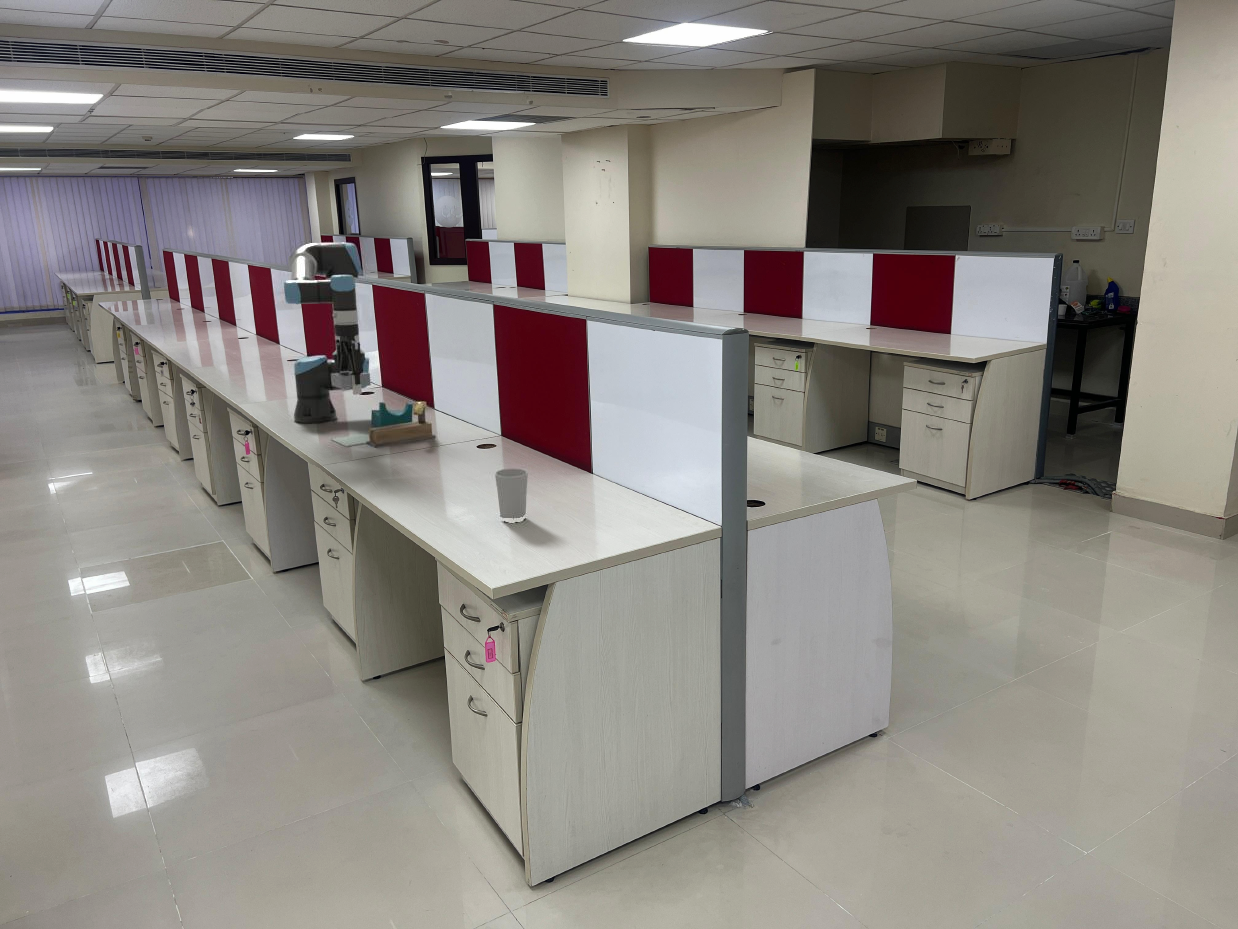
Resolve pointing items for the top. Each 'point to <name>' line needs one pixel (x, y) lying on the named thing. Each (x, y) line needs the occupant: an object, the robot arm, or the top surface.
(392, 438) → the plane body
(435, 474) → the top surface
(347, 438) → the mat
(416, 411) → the lever
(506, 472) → the cup
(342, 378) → the gray rectangular block
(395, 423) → the teal notched cradle
